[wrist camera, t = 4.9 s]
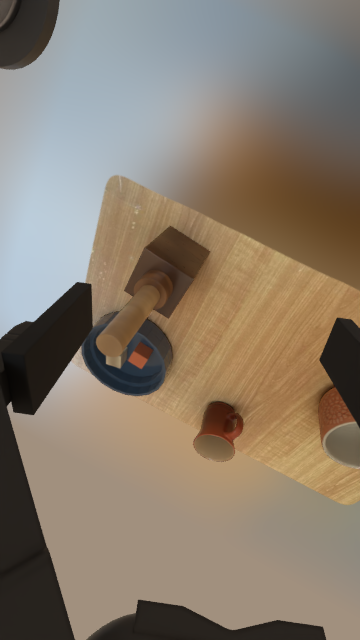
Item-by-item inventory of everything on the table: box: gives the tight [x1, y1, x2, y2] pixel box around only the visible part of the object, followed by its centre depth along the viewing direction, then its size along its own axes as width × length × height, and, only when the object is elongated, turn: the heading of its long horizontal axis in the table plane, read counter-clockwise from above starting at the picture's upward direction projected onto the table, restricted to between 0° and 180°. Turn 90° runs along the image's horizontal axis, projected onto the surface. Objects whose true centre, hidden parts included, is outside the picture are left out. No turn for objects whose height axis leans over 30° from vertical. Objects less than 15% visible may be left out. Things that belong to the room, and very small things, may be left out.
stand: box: [124, 226, 210, 318], centre depth 47 cm, size 8×8×12 cm
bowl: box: [81, 312, 173, 396], centre depth 65 cm, size 19×19×6 cm
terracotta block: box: [128, 342, 153, 369], centre depth 64 cm, size 4×4×4 cm
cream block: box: [106, 347, 127, 368], centre depth 66 cm, size 4×4×4 cm
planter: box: [318, 387, 360, 469], centre depth 54 cm, size 12×12×11 cm
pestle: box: [96, 270, 173, 357], centre depth 36 cm, size 5×5×15 cm
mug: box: [193, 402, 243, 462], centre depth 65 cm, size 12×9×10 cm
